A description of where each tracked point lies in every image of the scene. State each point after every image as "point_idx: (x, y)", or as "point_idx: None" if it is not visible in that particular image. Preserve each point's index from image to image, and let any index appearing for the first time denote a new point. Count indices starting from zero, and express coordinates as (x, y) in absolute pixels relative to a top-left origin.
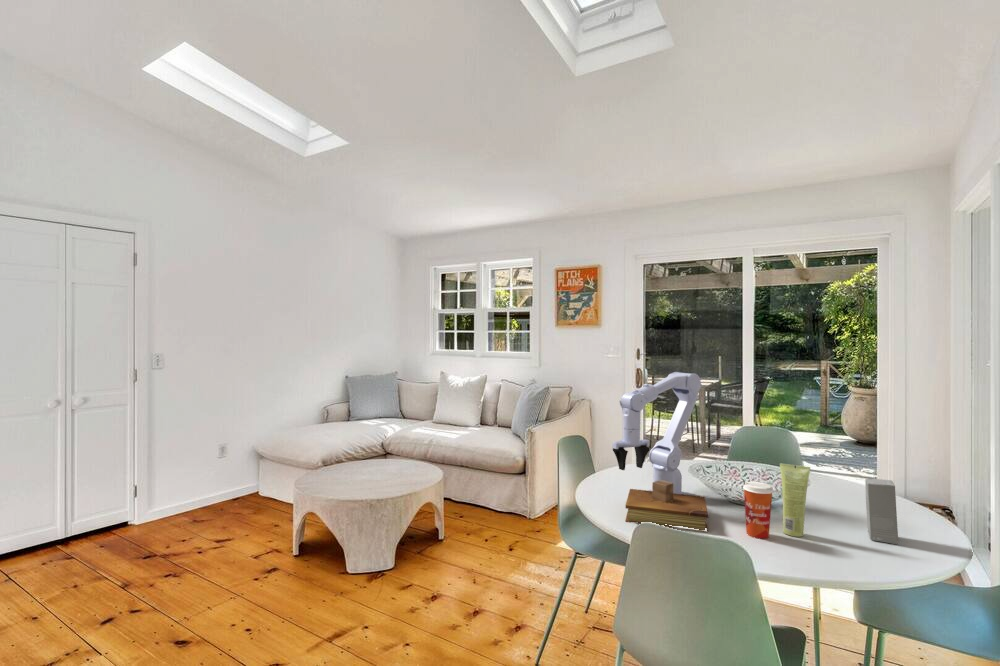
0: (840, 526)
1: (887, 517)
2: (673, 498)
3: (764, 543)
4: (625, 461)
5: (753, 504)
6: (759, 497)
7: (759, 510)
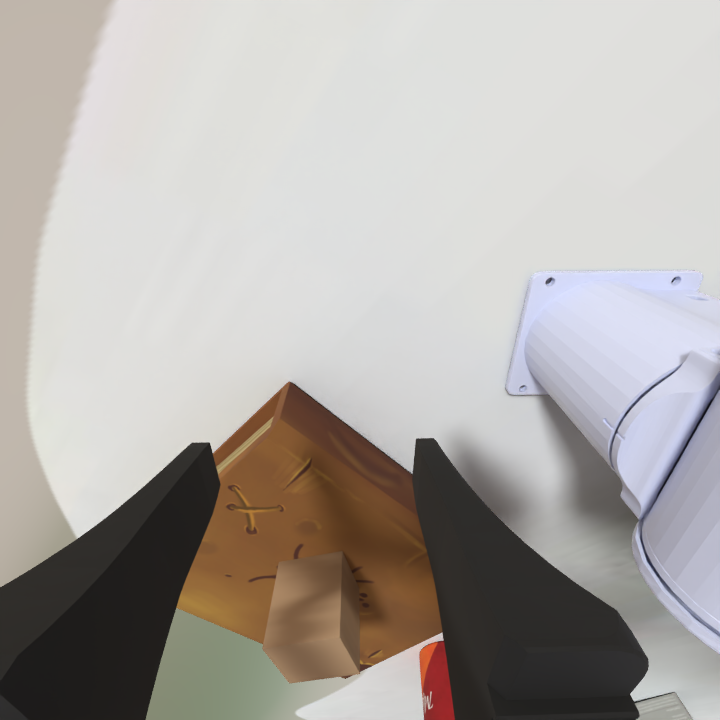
0: (671, 671)
1: None
2: (368, 583)
3: (408, 672)
4: (186, 577)
5: None
6: None
7: None
